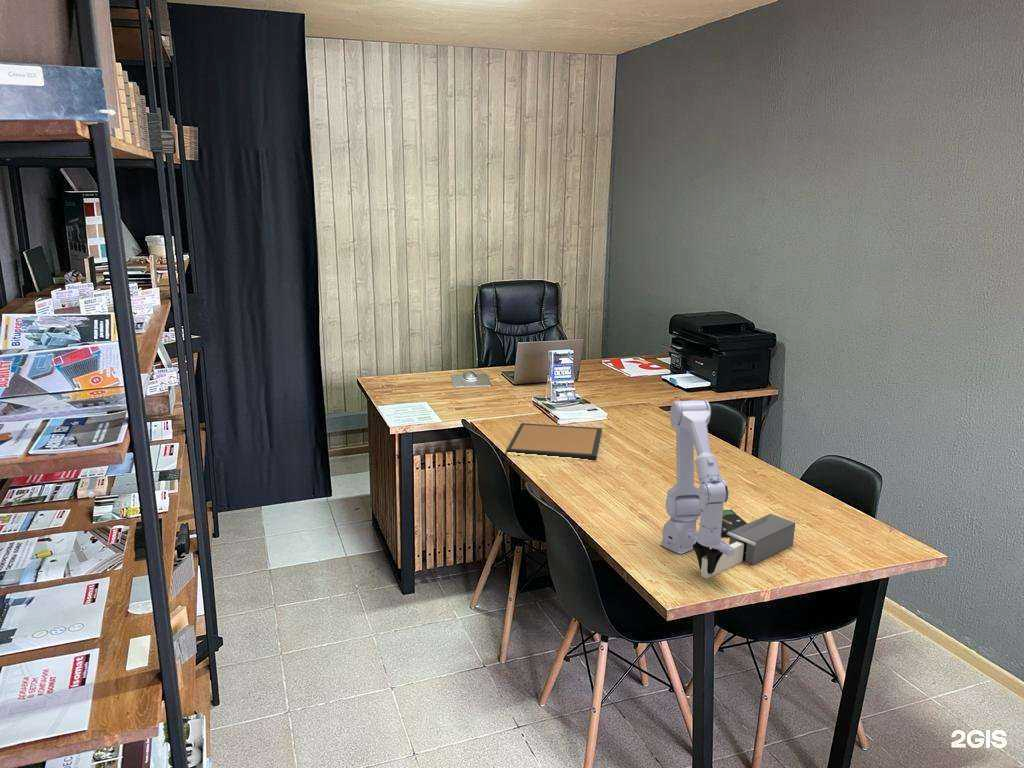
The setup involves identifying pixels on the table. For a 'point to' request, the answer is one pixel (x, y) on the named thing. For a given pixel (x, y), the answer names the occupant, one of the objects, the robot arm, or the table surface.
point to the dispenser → (764, 537)
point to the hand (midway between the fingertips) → (706, 570)
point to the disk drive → (730, 522)
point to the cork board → (556, 441)
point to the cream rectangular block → (724, 560)
